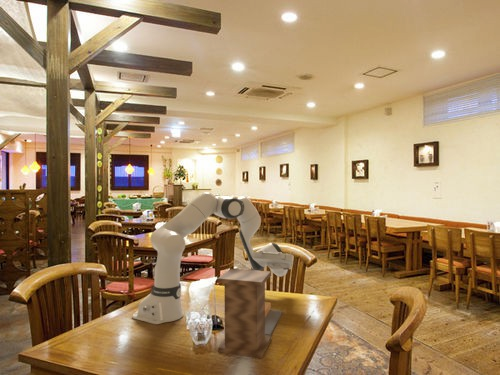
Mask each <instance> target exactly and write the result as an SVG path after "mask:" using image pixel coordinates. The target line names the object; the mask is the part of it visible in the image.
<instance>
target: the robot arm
mask: <svg viewBox="0 0 500 375" xmlns="http://www.w3.org/2000/svg"><path fill="white" fill-rule="evenodd" d="M211 215H214V216H217V217H219V218H221V219H228V220H232V219H233V220H234V219H237V221H238V223H239V224H240V230H239V231H238V232H239V237H240V241H241V243H242V246H243V248H244V251H245V253H246V255H247V259H248V262H249V266H250V267H251V270H257V271H263V270H264V269H265V268H266V267H268V268H269V270H270V272H271V273H273V274H274V275H276V276H277V277H284V276H285V275H287V273H288V270H292V268H293V265H294V255H293V253H292V254H291V253H283V250H282V249H281V247H280V246H279V245H278V244H277V243H275V242H270V243H268V244H266V245H264V246H263V247H261V248H259V249H258V250H257V251H254V249H253V247H252V244H251V241H252V240H251V239H252V238H253V237H254V235H255V234H256V233H257V231H258V230H260V229H259V228H260V227H261V223H262V217H261V215H260V214H259V211H258V210H257V208H256V207H255V205H254V204H253V203H252V201H251V200H250V199H249V198H248V197H246V196H243V195H242V196H239V197H234V196H230V195H225V194H222V195H221V194H217V195H213V194H212V193H211V192H209V191H205V192H202V193H201V194H198V195H197V196H196V197H194V198H193V199H192V200H191V201H190V202H189V203H188V204H187V205H186V206H185V207H184V208H183V209H182V210H181V211H179V213H177V214H176V215H175V216H173V217H172V218H171V219H169V220H168V221H167V222H165V223H164V224H162V225H161V226H160V227H159V228H157V229H155V230H154V231H153V232H152V233H151V235H150V237H149V238H150V239H149V240H150V245H151V247H152V249H154V250H155V251H156V252H157V258H156V262H155V266H154V271H153V272H154V284H153V285H152V286H150V287H149V288H148V289H149V291H151V292H150V293H149V294H147V296H145V297H144V298H143V299H142V300H141V301H140V302H139V303H138V306H137V310H136V311H135V312H133V314H132V319H134V320H138V321H142V322H146V323H149V324H152V325H160V324H163V323H169V322H174V321H178V320H179V319H181V318H183V317H184V315H185V313H184V311H183V306H182V300H181V297H182V296H181V295H182V287H181V286H182V285H181V284H182V283H180V282H181V274H180V273H181V262H182V257H183V256H182V255H183V253H184V251H185V249H186V241H185V237H187V236H189V235H191V234H192V233H194V232H195V231H196V230H197V229H198V228H200V226H201V225H203V223H204V222H205V221H206V220H207V219H208V218H210V216H211Z"/></svg>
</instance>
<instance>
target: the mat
mask: <svg viewBox="0 0 500 375" xmlns="http://www.w3.org/2000/svg"><path fill="white" fill-rule="evenodd" d="M282 315H283V311H282V310H274V309H273V310H272V309H270V311H269V312H268V314H267V315H266V317H265V335H269V336H271V337H272V333H273V332H274V330H275V328H276V325H277V324H278V322H279V320H280V318H281V317H282Z"/></svg>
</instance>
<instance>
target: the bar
mask: <svg viewBox="0 0 500 375" xmlns="http://www.w3.org/2000/svg"><path fill="white" fill-rule="evenodd" d="M271 305H272V304H271V302H268V301H265V317H266V315H267V314H268V312H269V311H270V310H272V309H271V308H272V307H271Z"/></svg>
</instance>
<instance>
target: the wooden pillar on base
mask: <svg viewBox="0 0 500 375" xmlns="http://www.w3.org/2000/svg"><path fill="white" fill-rule="evenodd" d="M271 276H272V271H271V270H270V271H268V270H261V271H257V270H254V269H241V268H230V269H229V270H227V271H225V272H224V273H223V274H221V275H220V276H219V277H217V283H218V284H224V339H223V341H222V342H221V343H220V344H219V345H218V346H217V352H218V353H224V354H225V353H226V354H232V355H238V356H245V357H251V358H256V359H263V357H264V354H265V353H266V351H267V349H268V346H269V345H270V342H271V341H272V335H271V336H269V335H265V302H266V282H267V281H268V279H269V278H271Z"/></svg>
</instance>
